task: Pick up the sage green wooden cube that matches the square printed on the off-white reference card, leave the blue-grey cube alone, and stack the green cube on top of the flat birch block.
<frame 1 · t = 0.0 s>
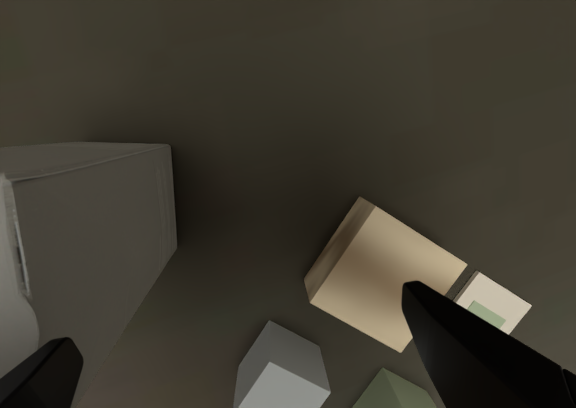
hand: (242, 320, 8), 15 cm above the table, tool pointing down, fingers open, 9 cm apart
blue-grey cube: (279, 355, 26), on the table
skincare box: (139, 200, 23), on the table
sage cube: (388, 399, 28), on the table
birch block: (370, 261, 25), on the table
reference card: (473, 323, 27), on the table
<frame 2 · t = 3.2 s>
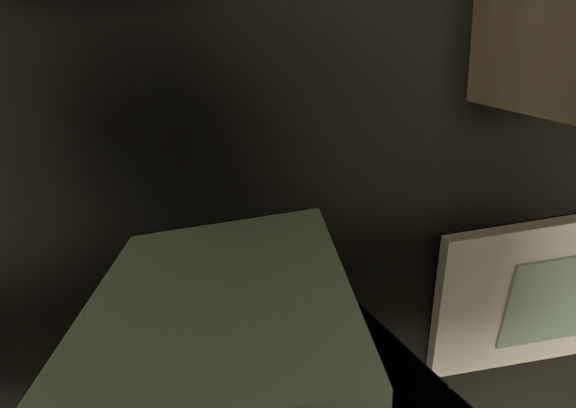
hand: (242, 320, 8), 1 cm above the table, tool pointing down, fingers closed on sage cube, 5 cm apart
sage cube: (243, 293, 9), on the table, touching gripper
reference card: (547, 291, 11), on the table
when the fingers open (6 cm above the table, at t = 6.6 s): sage cube drops 2 cm, resting on birch block.
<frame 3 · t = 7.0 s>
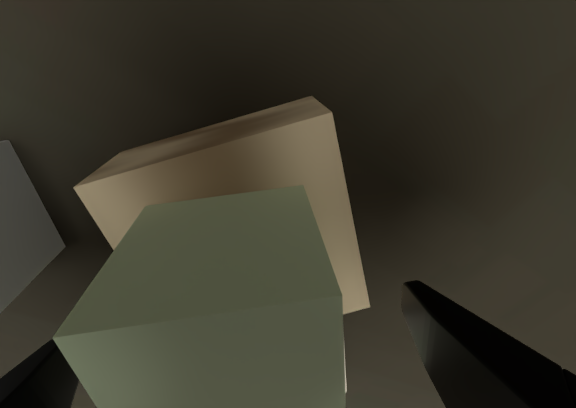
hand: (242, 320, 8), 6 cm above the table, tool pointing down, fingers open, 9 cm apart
sage cube: (238, 259, 11), point 4 cm above the table, touching birch block
birch block: (247, 205, 14), on the table, touching sage cube
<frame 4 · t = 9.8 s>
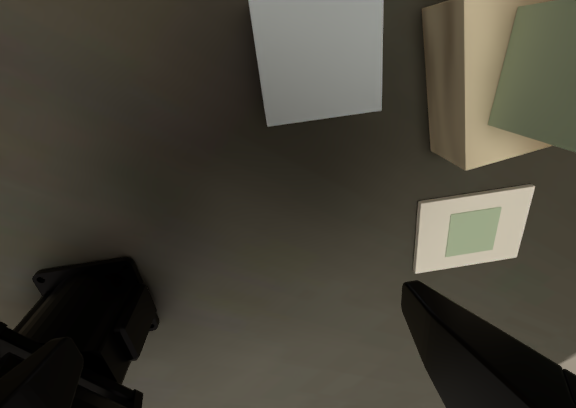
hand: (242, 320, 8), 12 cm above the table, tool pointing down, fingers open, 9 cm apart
blue-grey cube: (303, 54, 17), on the table
sage cube: (551, 68, 15), point 4 cm above the table
birch block: (490, 66, 18), on the table
reference card: (468, 229, 23), on the table
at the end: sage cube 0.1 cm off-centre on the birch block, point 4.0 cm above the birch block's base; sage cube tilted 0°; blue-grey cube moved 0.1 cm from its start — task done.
